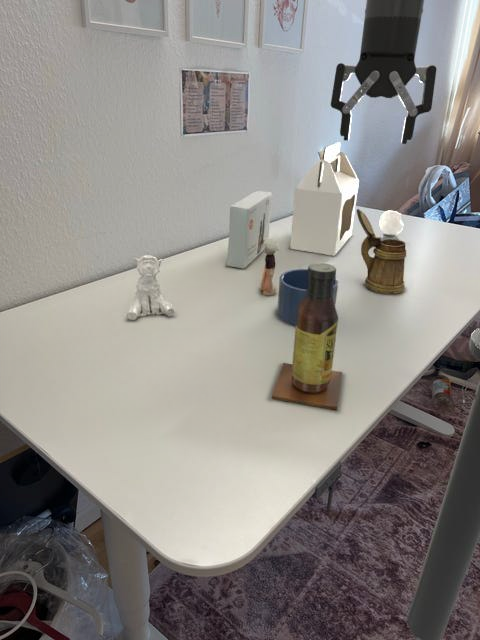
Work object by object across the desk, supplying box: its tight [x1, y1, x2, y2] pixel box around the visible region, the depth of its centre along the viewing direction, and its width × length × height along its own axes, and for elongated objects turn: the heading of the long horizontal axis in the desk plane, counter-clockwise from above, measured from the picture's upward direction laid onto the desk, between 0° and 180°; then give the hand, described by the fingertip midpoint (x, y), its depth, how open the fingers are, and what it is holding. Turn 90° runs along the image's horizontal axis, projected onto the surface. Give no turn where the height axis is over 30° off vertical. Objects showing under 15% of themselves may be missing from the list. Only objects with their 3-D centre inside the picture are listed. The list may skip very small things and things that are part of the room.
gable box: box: [289, 141, 360, 257], centre depth 139 cm, size 22×13×28 cm, turn 156°
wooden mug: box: [356, 208, 407, 295], centre depth 112 cm, size 9×14×18 cm, turn 69°
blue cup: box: [277, 268, 339, 327], centre depth 99 cm, size 12×12×8 cm
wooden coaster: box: [271, 362, 343, 411], centre depth 77 cm, size 10×10×1 cm
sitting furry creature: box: [126, 254, 175, 321], centre depth 98 cm, size 10×9×12 cm
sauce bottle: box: [291, 262, 339, 393], centre depth 73 cm, size 7×6×20 cm
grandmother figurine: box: [259, 238, 280, 296], centre depth 108 cm, size 8×4×13 cm, turn 12°
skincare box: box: [226, 190, 273, 269], centre depth 129 cm, size 21×5×16 cm, turn 160°
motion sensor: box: [378, 209, 404, 236], centre depth 152 cm, size 8×8×8 cm
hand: (374, 141), depth 73 cm, fingers open, 8 cm apart
